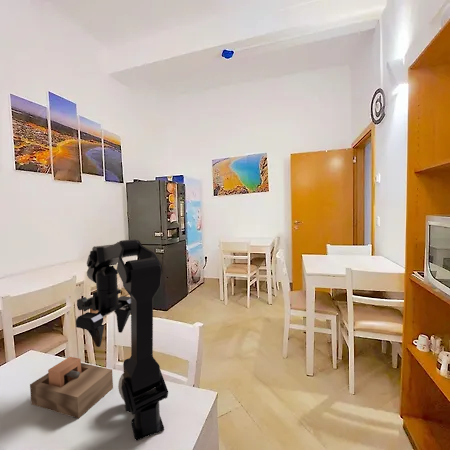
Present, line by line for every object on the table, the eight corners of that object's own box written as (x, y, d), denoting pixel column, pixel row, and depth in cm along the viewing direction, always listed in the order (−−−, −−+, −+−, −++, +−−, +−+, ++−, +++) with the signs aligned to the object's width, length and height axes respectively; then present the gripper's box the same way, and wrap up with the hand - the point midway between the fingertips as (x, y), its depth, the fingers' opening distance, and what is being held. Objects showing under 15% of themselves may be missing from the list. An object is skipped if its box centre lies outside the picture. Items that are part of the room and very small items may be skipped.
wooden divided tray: (113, 388, 81) (111, 364, 80) (78, 418, 69) (76, 391, 69) (69, 377, 86) (68, 355, 85) (31, 404, 75) (29, 378, 74)
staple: (71, 378, 82) (69, 356, 82) (82, 380, 81) (80, 358, 80) (49, 393, 76) (48, 369, 75) (61, 396, 74) (59, 372, 74)
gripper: (107, 277, 95) (110, 323, 96) (58, 295, 77) (62, 350, 78) (135, 280, 91) (138, 327, 92) (90, 299, 73) (94, 357, 75)
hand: (109, 339), depth 84 cm, fingers open, 9 cm apart
